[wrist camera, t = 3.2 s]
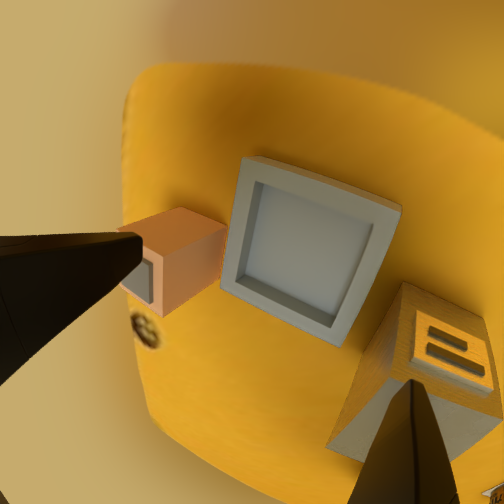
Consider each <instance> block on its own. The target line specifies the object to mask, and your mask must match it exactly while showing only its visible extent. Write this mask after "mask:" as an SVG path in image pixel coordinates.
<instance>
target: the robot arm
mask: <svg viewBox="0 0 504 504" xmlns="http://www.w3.org/2000/svg"><path fill="white" fill-rule="evenodd" d="M142 259H143V238H142V237H141V236H140V235H138V234H137V233H135V232H102V233H73V234H50V235H38V236H37V235H27V236H0V386H1V385H2V384H3V383H4V382H5V381H6V380H7V379H8V378H9V377H11V376H12V375H13V374H14V373H15V372H16V371H17V370H18V369H19V368H20V367H21V366H22V365H24V364H25V363H26V362H27V361H28V360H29V358H31V357H32V356H33V355H35V354H36V353H37V352H38V351H39V350H40V349H41V348H42V347H44V346H45V345H46V344H47V343H48V342H49V341H51V340H52V339H53V338H54V337H55V336H57V335H58V334H59V333H60V332H61V331H62V330H64V329H65V328H66V327H67V326H68V325H70V324H71V323H72V322H73V321H74V320H76V319H77V318H78V317H79V316H81V315H82V314H83V313H84V312H85V311H87V310H88V309H89V308H90V307H92V306H93V305H94V304H95V303H97V302H98V301H99V300H100V299H102V298H103V297H104V296H106V295H107V294H108V293H109V292H110V291H112V290H113V289H114V288H115V287H116V286H117V285H118V284H119V283H120V282H121V281H122V280H123V279H124V278H126V277H127V276H128V275H129V274H130V273H131V272H132V271H133V270H134V269H135V268H136V267H137V266H139V265H140V263H141V262H142ZM456 492H457V488H456V484H455V480H454V476H453V472H452V468H451V464H450V461H449V457H448V454H447V450H446V447H445V444H444V440H443V437H442V434H441V431H440V428H439V425H438V422H437V419H436V416H435V413H434V411H433V408H432V405H431V402H430V400H429V397H428V394H427V392H426V389H425V386H424V384H423V383H421V382H419V381H417V380H414V379H409V380H408V381H407V382H406V383H405V384H404V385H403V386H402V387H401V388H400V390H399V391H398V392H397V393H396V394H395V395H394V396H393V397H392V399H391V401H390V403H389V405H388V408H387V410H386V413H385V415H384V418H383V420H382V422H381V425H380V427H379V429H378V431H377V434H376V436H375V438H374V440H373V442H372V445H371V447H370V449H369V452H368V454H367V457H366V460H365V462H364V465H363V467H362V470H361V473H360V475H359V478H358V480H357V482H356V485H355V487H354V489H353V492H352V494H351V496H350V498H349V501H348V503H347V504H460V501H459V497H458V493H456ZM0 504H9V503H8V501H7V500H6V498H5V497H4V495H3V494H2V492H1V491H0Z"/></svg>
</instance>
